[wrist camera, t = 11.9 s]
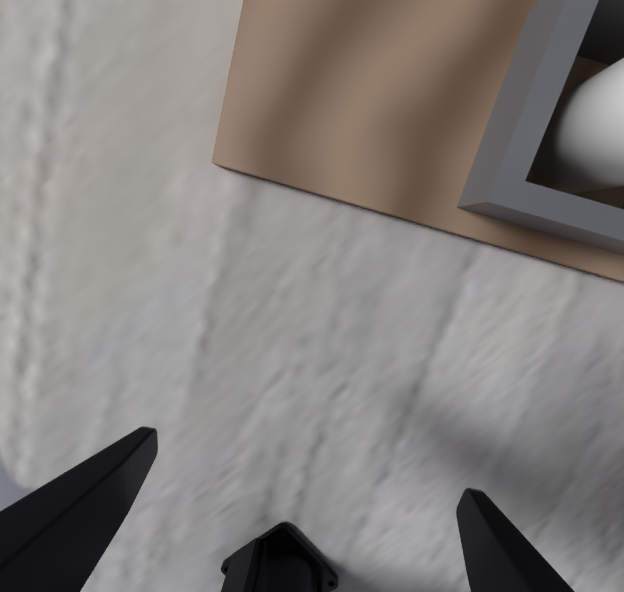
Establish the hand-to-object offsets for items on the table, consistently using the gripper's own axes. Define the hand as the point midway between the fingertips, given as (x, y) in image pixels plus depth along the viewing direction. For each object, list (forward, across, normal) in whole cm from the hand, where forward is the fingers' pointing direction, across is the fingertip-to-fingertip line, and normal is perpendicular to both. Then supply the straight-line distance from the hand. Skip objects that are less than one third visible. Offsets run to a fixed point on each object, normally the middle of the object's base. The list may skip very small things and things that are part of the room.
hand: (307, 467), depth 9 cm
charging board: (+13, -5, -12) cm, 18 cm away
